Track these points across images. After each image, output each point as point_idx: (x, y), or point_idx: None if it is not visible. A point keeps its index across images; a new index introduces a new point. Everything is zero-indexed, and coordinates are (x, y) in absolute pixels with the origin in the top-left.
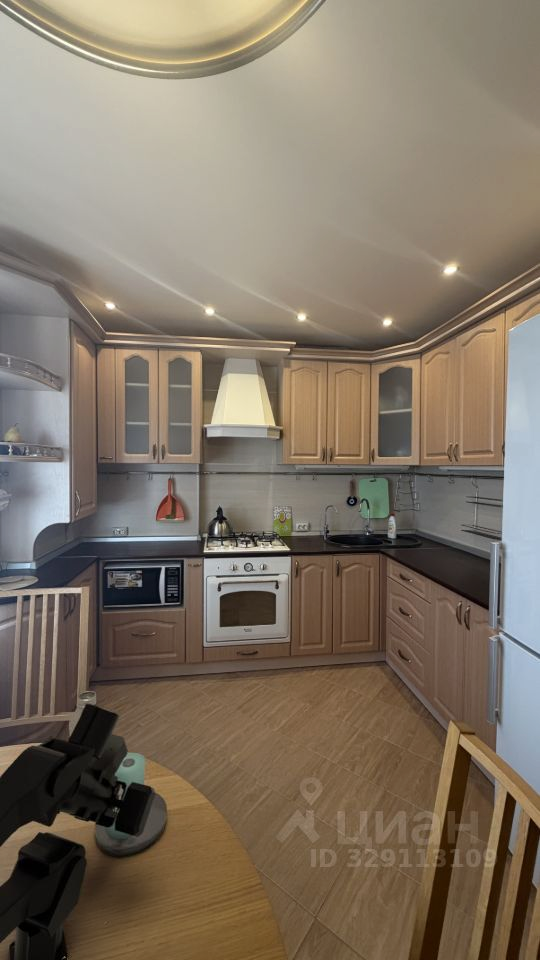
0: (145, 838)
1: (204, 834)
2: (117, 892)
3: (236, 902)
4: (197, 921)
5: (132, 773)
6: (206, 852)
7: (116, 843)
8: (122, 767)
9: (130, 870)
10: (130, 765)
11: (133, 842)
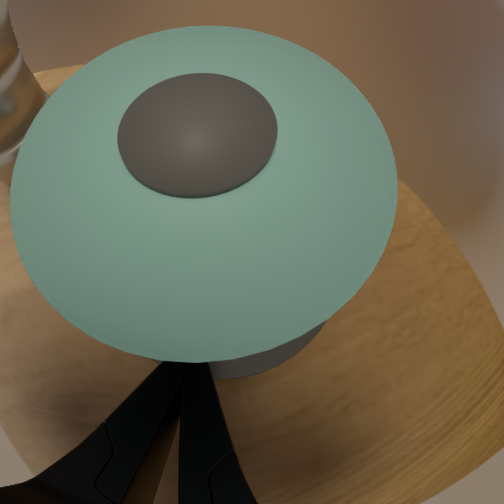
0: (312, 337)
1: (425, 256)
2: (273, 462)
3: (496, 391)
4: (452, 449)
5: (336, 304)
6: (443, 306)
7: (217, 374)
8: (138, 209)
9: (282, 402)
10: (245, 168)
11: (277, 360)
